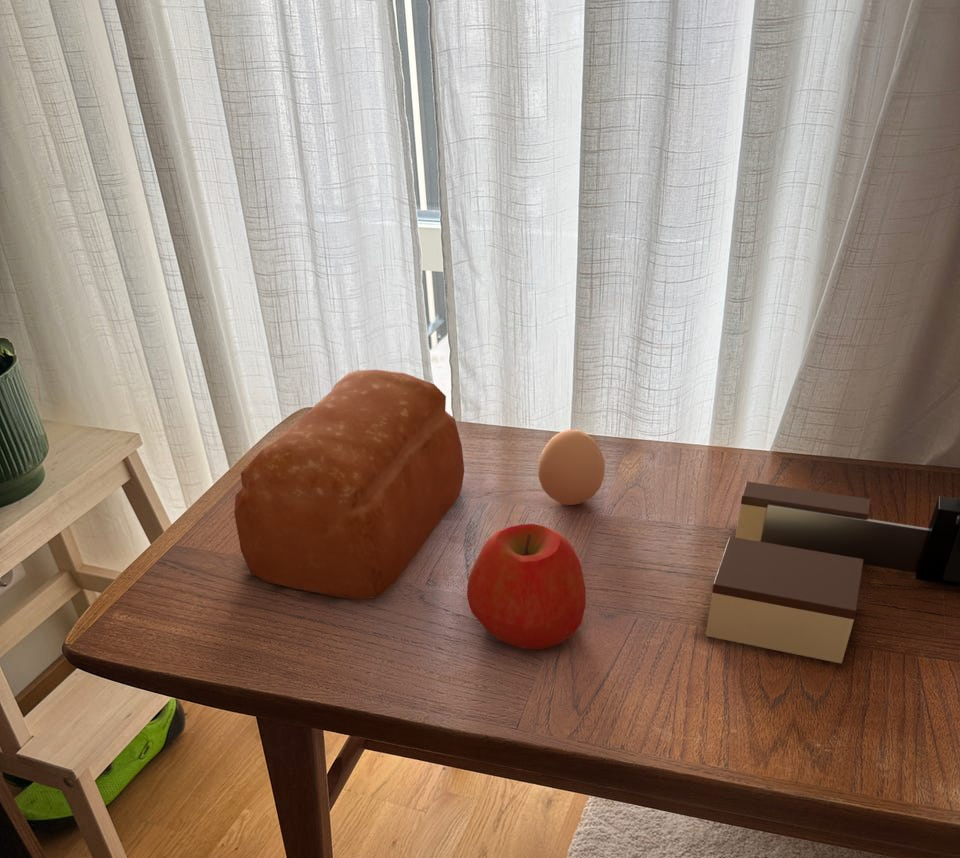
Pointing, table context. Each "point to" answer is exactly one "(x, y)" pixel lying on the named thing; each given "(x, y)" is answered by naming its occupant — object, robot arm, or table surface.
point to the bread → (351, 487)
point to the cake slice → (790, 505)
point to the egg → (571, 467)
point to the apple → (528, 587)
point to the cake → (785, 599)
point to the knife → (870, 537)
